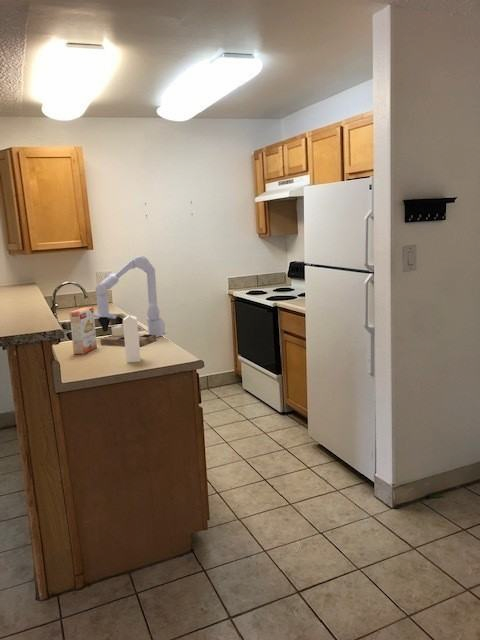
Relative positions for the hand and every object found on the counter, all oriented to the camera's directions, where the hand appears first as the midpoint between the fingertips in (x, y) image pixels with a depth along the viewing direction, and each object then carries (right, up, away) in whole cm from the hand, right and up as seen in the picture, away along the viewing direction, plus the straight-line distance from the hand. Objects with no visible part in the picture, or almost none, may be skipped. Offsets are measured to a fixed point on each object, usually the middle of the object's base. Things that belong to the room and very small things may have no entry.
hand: (105, 331), depth 286 cm
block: (+8, -2, -3) cm, 8 cm away
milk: (+25, -12, -47) cm, 55 cm away
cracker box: (-4, -10, -23) cm, 25 cm away
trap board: (+14, -6, -9) cm, 18 cm away
